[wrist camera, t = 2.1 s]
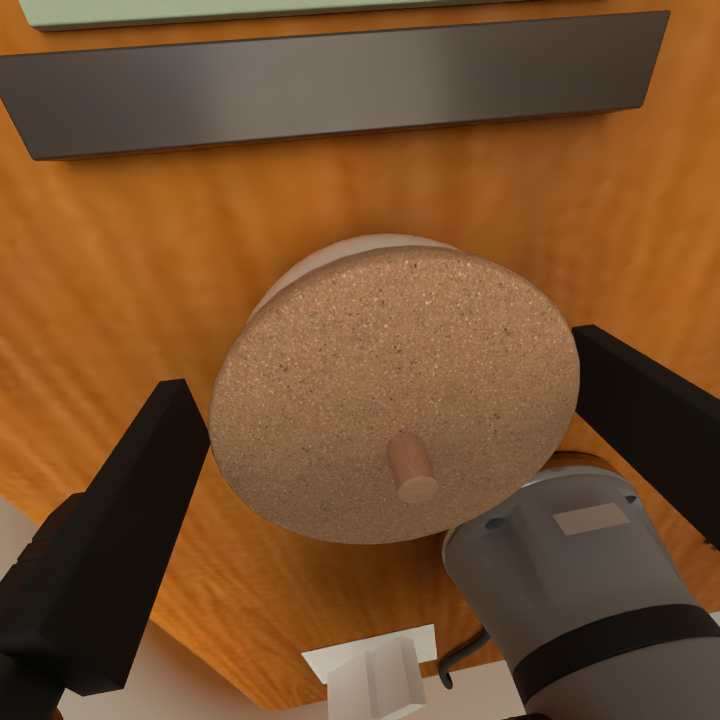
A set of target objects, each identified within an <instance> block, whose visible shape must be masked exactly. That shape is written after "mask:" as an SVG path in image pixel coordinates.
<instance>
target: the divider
mask: <svg viewBox="0 0 720 720" xmlns="http://www.w3.org/2000/svg"><path fill="white" fill-rule="evenodd" d="M669 16H670V11H669V10H664V11H649V12H634V13H619V14H605V15H590V16H575V17H561V18H546V19H531V20H516V21H502V22H487V23H472V24H458V25H443V26H428V27H413V28H399V29H384V30H369V31H355V32H340V33H325V34H310V35H296V36H281V37H266V38H252V39H237V40H222V41H208V42H193V43H178V44H163V45H149V46H134V47H119V48H105V49H90V50H75V51H60V52H46V53H31V54H16V55H2V56H0V98H1V100H2V102H3V104H4V106H5V107H6V109H7V111H8V113H9V115H10V117H11V119H12V121H13V123H14V125H15V127H16V129H17V131H18V132H19V134H20V136H21V138H22V140H23V142H24V144H25V146H26V148H27V150H28V152H29V154H30V156H31V158H32V159H33V160H35V161H73V160H84V159H96V158H107V157H118V156H129V155H141V154H152V153H163V152H175V151H186V150H197V149H209V148H220V147H231V146H242V145H254V144H265V143H276V142H288V141H299V140H310V139H321V138H333V137H344V136H355V135H367V134H378V133H389V132H400V131H412V130H423V129H434V128H446V127H457V126H468V125H479V124H491V123H502V122H513V121H525V120H536V119H547V118H558V117H570V116H581V115H592V114H604V113H611V112H617V111H623V110H630V109H636V108H640V107H642V105H643V103H644V100H645V96H646V93H647V90H648V86H649V83H650V80H651V76H652V73H653V70H654V66H655V63H656V60H657V56H658V53H659V50H660V46H661V43H662V40H663V36H664V33H665V30H666V26H667V23H668V20H669Z"/></svg>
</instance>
